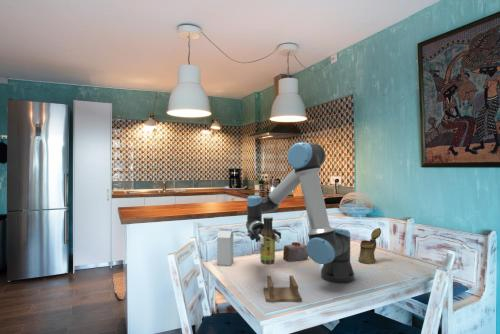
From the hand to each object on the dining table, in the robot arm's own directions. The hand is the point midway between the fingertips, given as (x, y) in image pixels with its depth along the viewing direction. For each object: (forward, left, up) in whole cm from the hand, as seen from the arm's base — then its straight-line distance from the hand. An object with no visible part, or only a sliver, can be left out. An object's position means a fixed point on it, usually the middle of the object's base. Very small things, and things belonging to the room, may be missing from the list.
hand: (270, 240), depth 133 cm
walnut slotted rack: (-4, +3, -22) cm, 23 cm away
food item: (-19, -48, -22) cm, 56 cm away
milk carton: (+21, -41, -22) cm, 51 cm away
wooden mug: (-59, -42, -22) cm, 76 cm away
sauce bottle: (+1, -5, -11) cm, 12 cm away
